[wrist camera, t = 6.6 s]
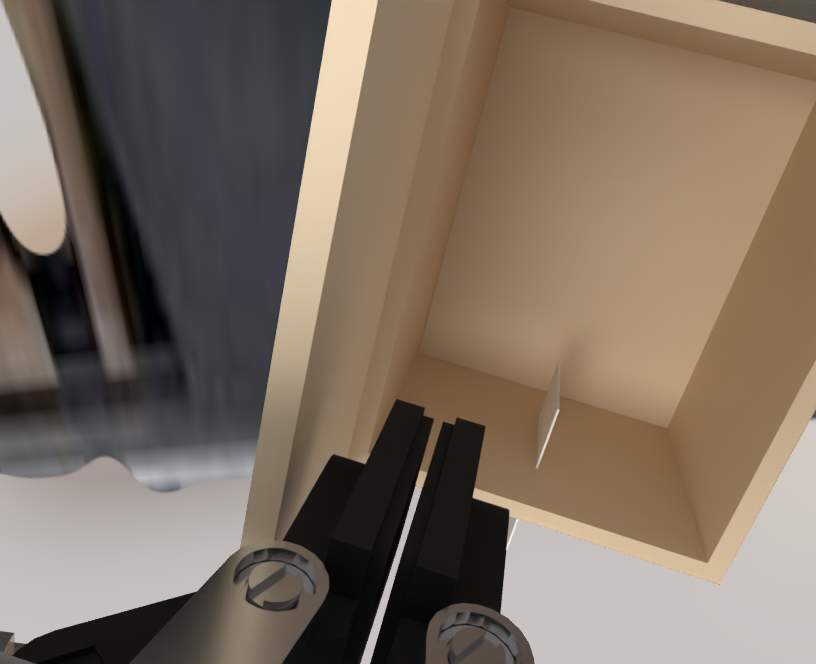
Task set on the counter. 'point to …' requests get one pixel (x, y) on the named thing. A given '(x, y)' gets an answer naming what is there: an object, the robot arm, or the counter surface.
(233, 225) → the counter surface
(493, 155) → the carton
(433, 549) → the robot arm
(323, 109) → the lid flap
